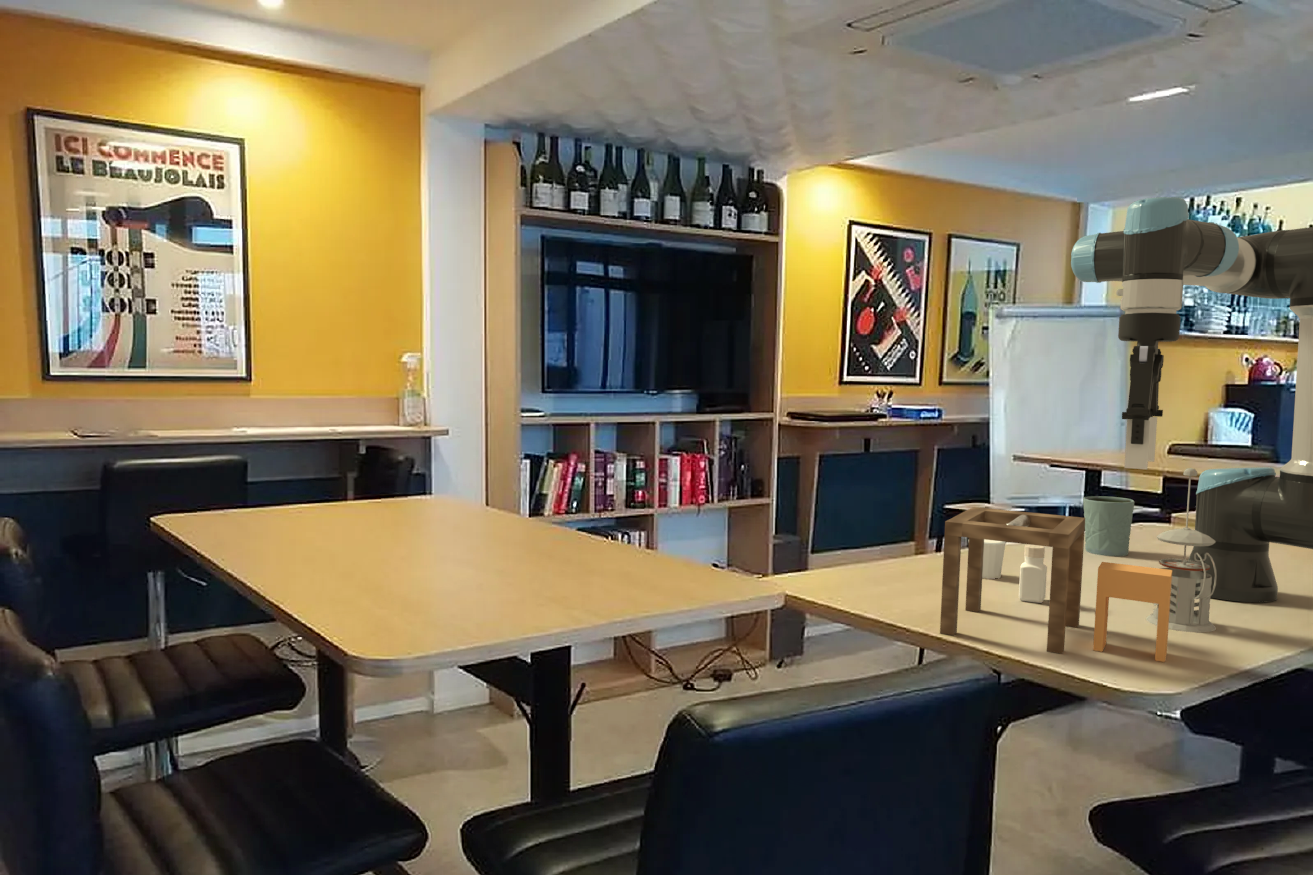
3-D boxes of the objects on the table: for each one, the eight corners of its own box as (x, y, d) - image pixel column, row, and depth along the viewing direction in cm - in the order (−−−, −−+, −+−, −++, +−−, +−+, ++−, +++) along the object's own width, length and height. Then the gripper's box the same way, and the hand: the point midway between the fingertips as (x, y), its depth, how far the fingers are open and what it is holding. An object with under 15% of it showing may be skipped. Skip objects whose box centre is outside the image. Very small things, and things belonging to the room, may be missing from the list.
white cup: (1007, 580, 174) (1008, 544, 173) (969, 578, 175) (970, 542, 174) (1000, 573, 180) (1002, 537, 180) (964, 570, 182) (966, 535, 181)
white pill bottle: (1042, 604, 156) (1045, 549, 156) (1017, 601, 158) (1020, 546, 158) (1045, 599, 160) (1048, 545, 159) (1021, 596, 162) (1024, 543, 161)
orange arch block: (1166, 652, 131) (1172, 570, 130) (1164, 662, 126) (1170, 576, 125) (1097, 641, 135) (1102, 561, 134) (1093, 650, 131) (1098, 567, 130)
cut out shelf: (1079, 624, 144) (1085, 517, 143) (1062, 653, 129) (1068, 534, 128) (968, 607, 153) (973, 507, 152) (939, 633, 138) (945, 521, 137)
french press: (1191, 615, 151) (1201, 465, 149) (1238, 636, 140) (1249, 473, 138) (1133, 614, 151) (1142, 464, 149) (1175, 635, 139) (1186, 472, 138)
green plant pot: (1139, 557, 198) (1143, 502, 197) (1092, 556, 199) (1096, 501, 198) (1117, 548, 209) (1120, 496, 208) (1072, 547, 209) (1075, 495, 208)
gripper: (1128, 318, 140) (1119, 456, 141) (1110, 307, 119) (1100, 469, 120) (1184, 317, 136) (1175, 459, 137) (1176, 306, 115) (1165, 474, 116)
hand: (1139, 464), depth 129 cm, fingers open, 13 cm apart
